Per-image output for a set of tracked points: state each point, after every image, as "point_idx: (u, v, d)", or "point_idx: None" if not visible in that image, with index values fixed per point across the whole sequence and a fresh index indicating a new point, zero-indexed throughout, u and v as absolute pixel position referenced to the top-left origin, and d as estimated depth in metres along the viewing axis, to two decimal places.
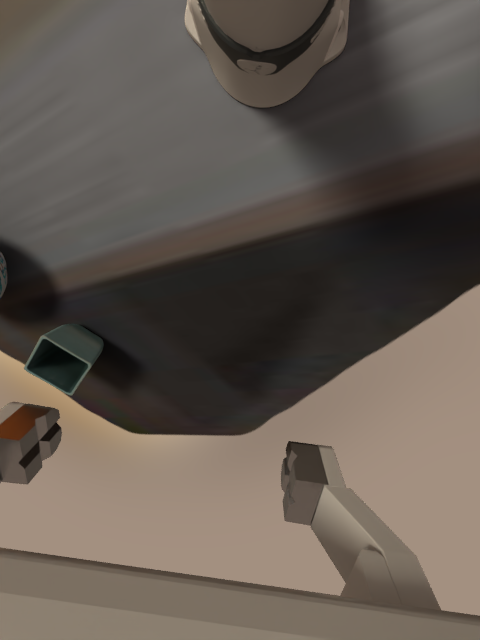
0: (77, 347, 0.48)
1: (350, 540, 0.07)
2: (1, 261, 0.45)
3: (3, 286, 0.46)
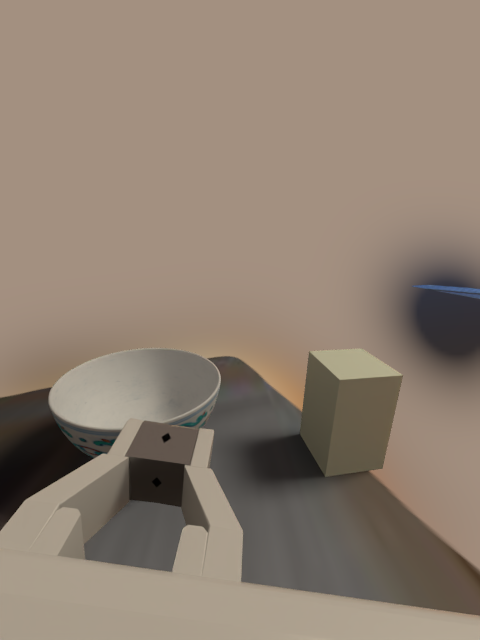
0: None
1: (196, 518, 0.08)
2: None
3: None
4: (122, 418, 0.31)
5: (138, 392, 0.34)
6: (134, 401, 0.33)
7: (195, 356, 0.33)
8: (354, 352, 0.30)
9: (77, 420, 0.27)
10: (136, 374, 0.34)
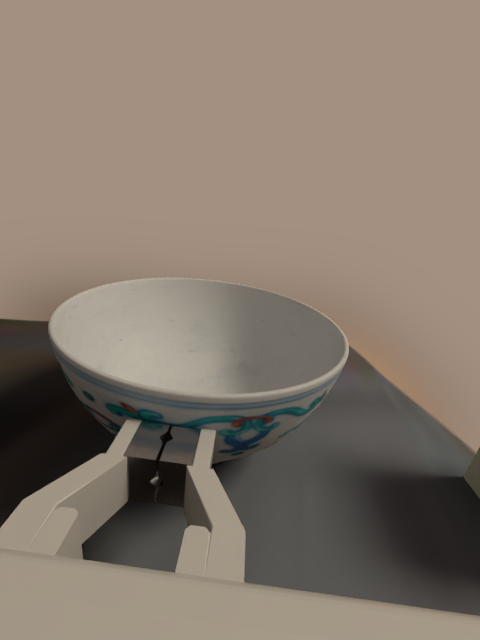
0: None
1: (199, 519, 0.08)
2: None
3: None
4: (169, 374, 0.21)
5: (197, 342, 0.23)
6: (189, 354, 0.22)
7: (291, 302, 0.21)
8: None
9: (102, 362, 0.17)
10: (197, 315, 0.23)
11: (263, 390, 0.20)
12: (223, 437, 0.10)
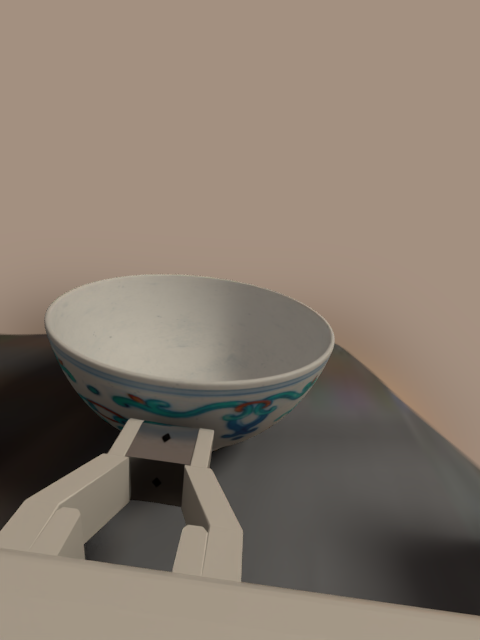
0: None
1: (196, 518, 0.08)
2: None
3: None
4: (160, 370, 0.21)
5: (185, 337, 0.23)
6: (178, 349, 0.23)
7: (276, 295, 0.22)
8: None
9: (94, 359, 0.17)
10: (185, 311, 0.23)
11: None
12: (226, 422, 0.11)
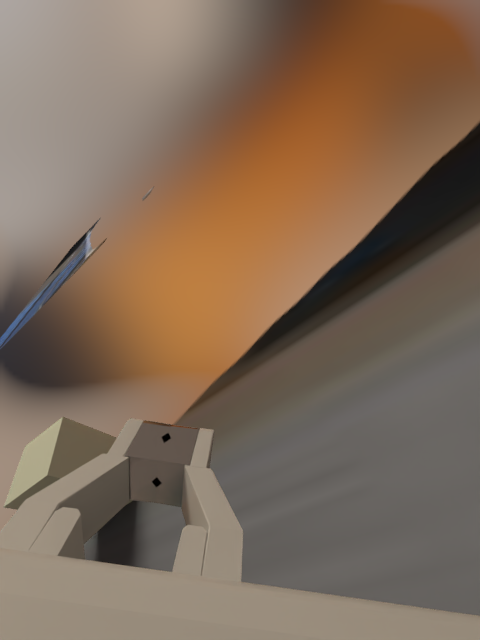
0: None
1: (196, 518, 0.08)
2: None
3: None
4: None
5: None
6: None
7: None
8: (25, 455, 0.30)
9: None
10: None
11: None
12: None
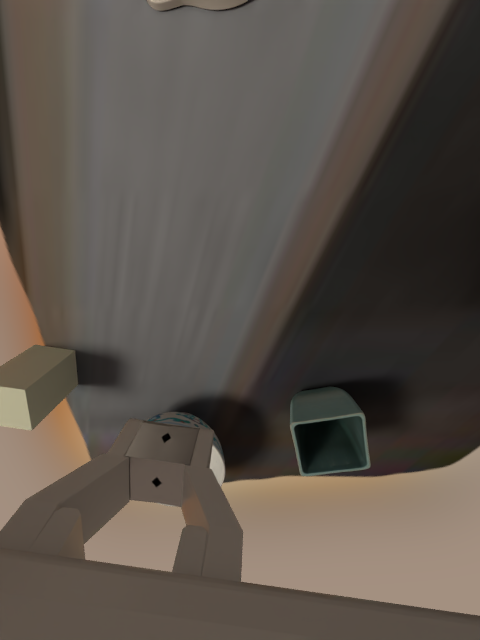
0: (330, 408, 0.36)
1: (196, 518, 0.08)
2: (192, 416, 0.41)
3: None
4: None
5: None
6: None
7: None
8: None
9: None
10: None
11: None
12: (159, 417, 0.39)
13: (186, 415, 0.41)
